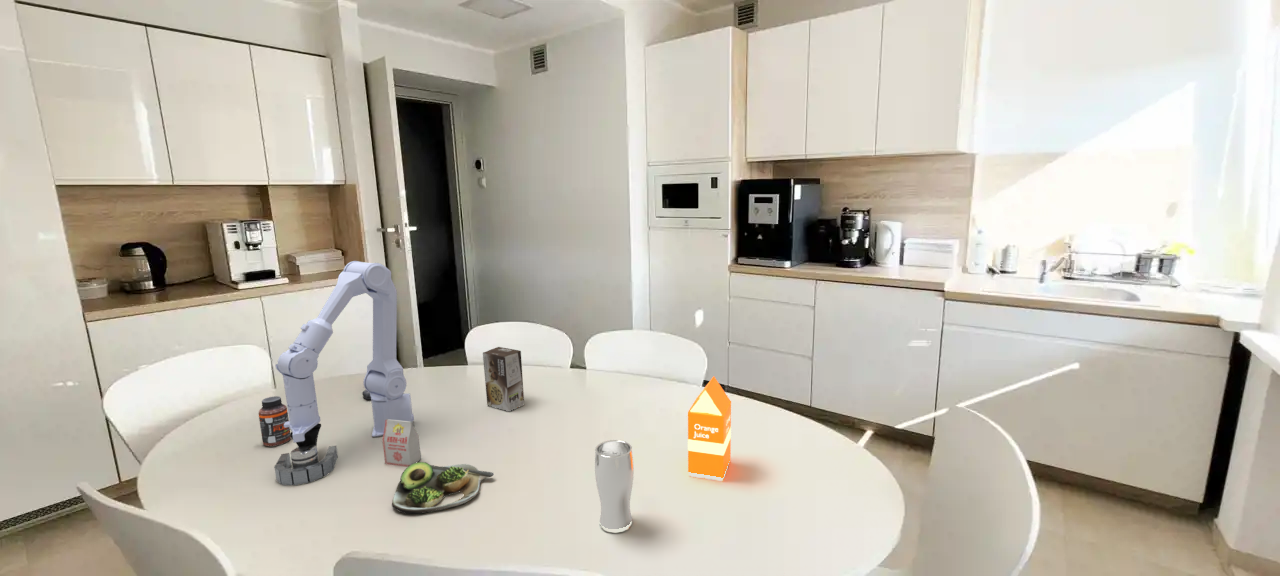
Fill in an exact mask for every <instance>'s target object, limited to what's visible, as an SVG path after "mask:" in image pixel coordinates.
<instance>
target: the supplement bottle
mask: <svg viewBox="0 0 1280 576" xmlns="http://www.w3.org/2000/svg"><path fill="white" fill-rule="evenodd" d="M258 420H259V426H260V432H261V441H262V445H264V446H265V447H276V446H281V445H283V444H286V443H287V442H289V441H290V440H291V436H290V434H291V429H290V428H289V427H287V428H285V427H284V423H285V422H287V421H289V414H288V408H287V404H283V403H282V397H281V396H279V395H277V396H276V395H275V396H269V397H265V398H263V399H262V400H261V408H260V409H259V410H258Z"/></svg>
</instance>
